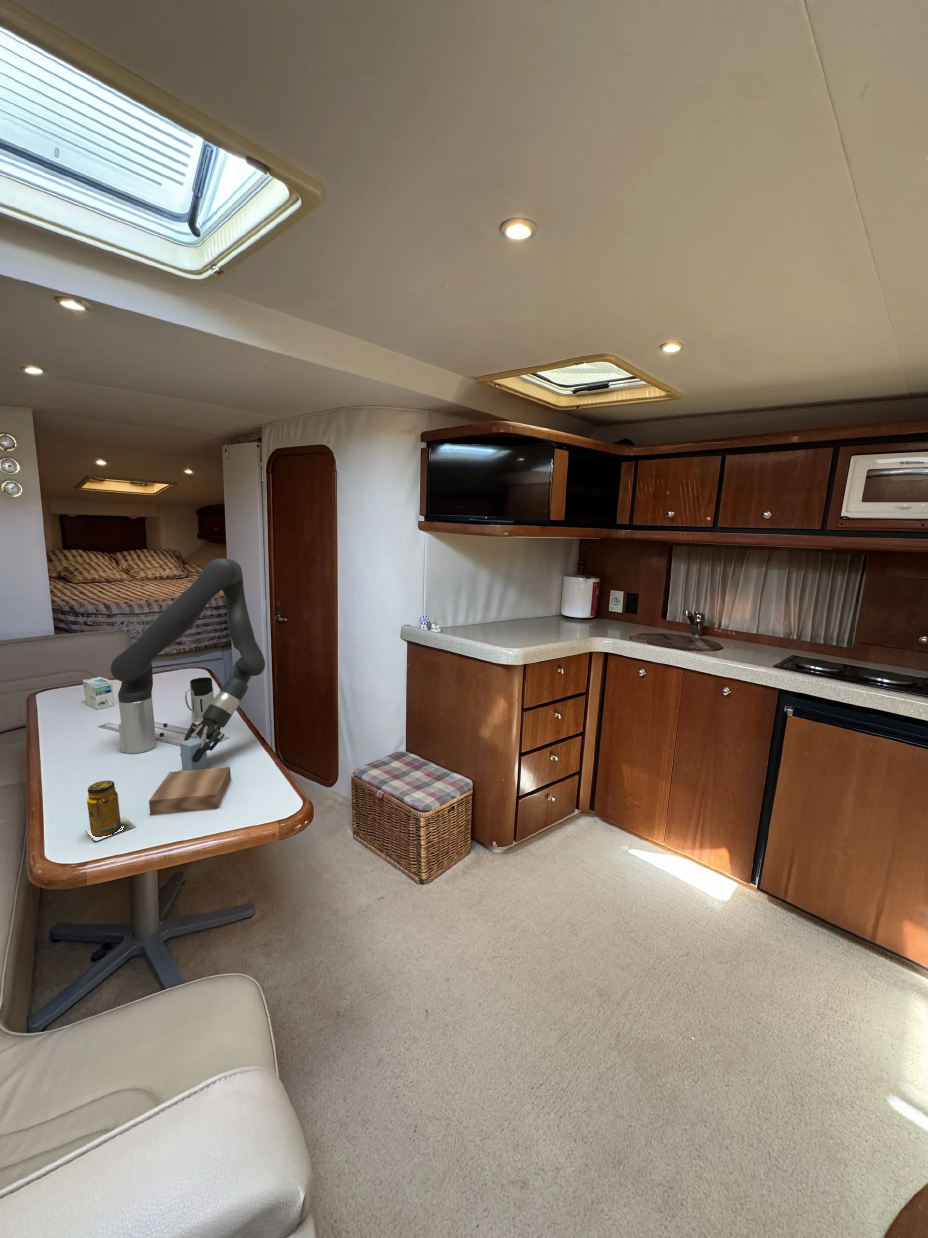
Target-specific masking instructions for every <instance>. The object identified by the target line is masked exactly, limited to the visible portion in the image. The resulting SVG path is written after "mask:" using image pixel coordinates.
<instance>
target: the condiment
mask: <svg viewBox="0 0 928 1238" xmlns="http://www.w3.org/2000/svg"><path fill="white" fill-rule="evenodd" d="M88 786H89V785H88ZM87 796H88V797H87V799H86V804H87V809H88V810H87V811H88V818H89V820H88V821H89V826H90V829H91V833H92V835H93V836H95V837H102V836H108V835H111V834H112V835H113V834H114V833H115V832H117V831H118V830H119V829H120V828H121V826H122V827H123V826H124V828H123V830H122V831H120V832H117V833H115V834H114V835H113V836H115V835H118V834H119V833H123V832H126V831H128V830H130V829H132V828H135V827H136V825H135V824H133V822H132V821H130V819H129V818H128V817H127V816H126V815H125V816H123V817H121V813H120V804H119V794H118V792H117V790H116V787H115V782H114V781H112V780H100V781H97V782H95V783H92V784H91V785H90V786H89V787H88V788H87ZM90 829H89V830H90ZM121 829H122V828H121ZM121 829H120V830H121Z"/></svg>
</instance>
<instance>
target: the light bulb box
mask: <svg viewBox="0 0 928 1238" xmlns="http://www.w3.org/2000/svg"><path fill="white" fill-rule="evenodd" d="M82 684H83V689H84V699H85V706H88V707H91V708H93V709H95V710H101V709H106V708H109V707H114V706H116V702H115V694H114V688H113V687H114V685H113V680H111V679H108V678H105V677H103V676H102V677H101V676H98V677H93V678H87V679H83V680H82Z"/></svg>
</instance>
